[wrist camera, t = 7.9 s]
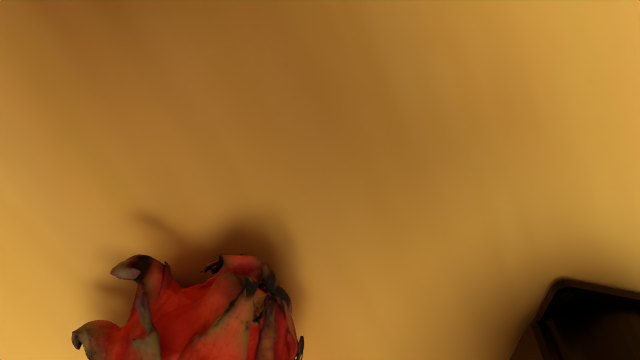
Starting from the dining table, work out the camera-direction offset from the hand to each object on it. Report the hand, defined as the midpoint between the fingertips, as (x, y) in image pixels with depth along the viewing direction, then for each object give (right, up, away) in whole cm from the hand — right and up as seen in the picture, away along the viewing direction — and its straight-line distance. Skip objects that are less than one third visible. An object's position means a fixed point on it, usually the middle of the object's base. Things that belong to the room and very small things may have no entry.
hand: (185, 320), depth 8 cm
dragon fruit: (-3, -3, +17) cm, 18 cm away
